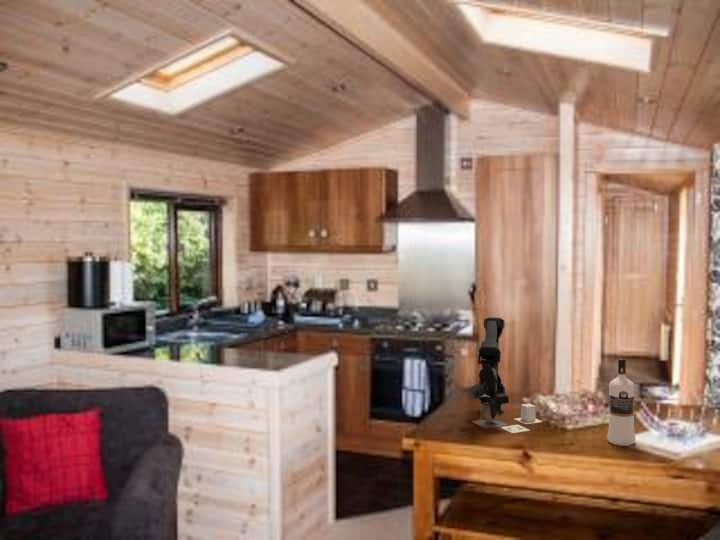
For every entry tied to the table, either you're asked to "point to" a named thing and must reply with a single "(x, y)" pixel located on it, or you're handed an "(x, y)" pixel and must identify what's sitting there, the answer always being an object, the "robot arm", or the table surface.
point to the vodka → (621, 408)
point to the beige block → (528, 412)
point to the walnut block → (487, 413)
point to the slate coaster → (489, 423)
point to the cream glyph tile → (515, 428)
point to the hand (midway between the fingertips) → (489, 416)
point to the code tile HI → (527, 422)
